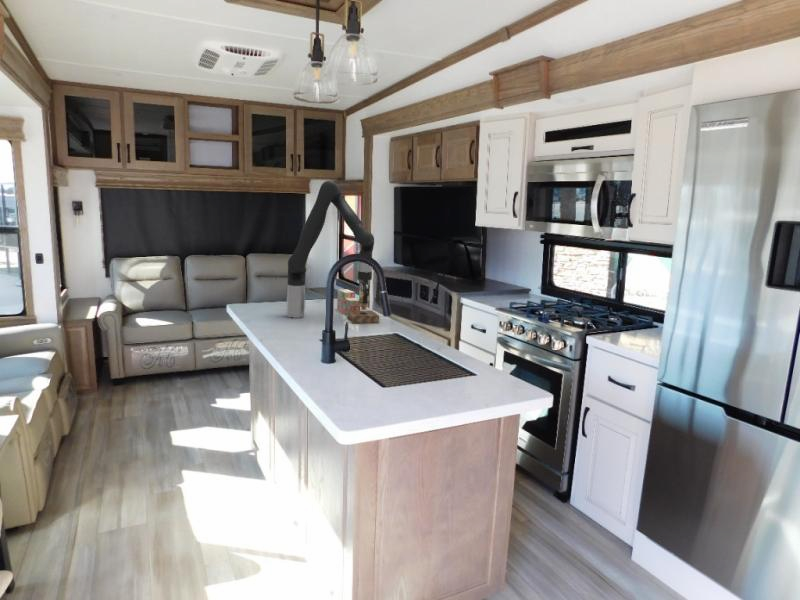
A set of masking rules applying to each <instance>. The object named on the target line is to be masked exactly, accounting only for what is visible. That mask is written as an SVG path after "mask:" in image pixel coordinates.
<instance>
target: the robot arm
mask: <svg viewBox="0 0 800 600" xmlns="http://www.w3.org/2000/svg"><path fill="white" fill-rule="evenodd" d="M331 203H332V204H333V205H334V207H335V208H336V210H337V211H338V212H339V214H340V216H341V217H342V219H343V221H344V222H345V224H346V225H347V227H348V228H349V229H350V231H351V232H352V235H353V236H354V237H355V240H356V242H357V243H358V244H359V245H361V246H360V251H359V253H358V255H359V254H361V255H365V256H368V257H370V258H372V259H373V252H374V248H375V247H374V245H375V236H374V234H373V233H372V232H371V231H370V232H368V231H367V230H366V229H365V227H364V224H363V222H362V220H361V218H359V216H358V215H357V214H356V212H355V210H353V209H352V208H351V206H350V205H349V203H348V202H347V200H346V198H345V197H344V194H343V193H342V191H341V189H340V186H339V185H338V184H337V183H336V182H334V181H332V180H325V181H324V182H323V183H322V184H321V185H320V188H319V190H318V194H317V196H316V200H315V202H314V205H313V206H312V207H311V208H312V209H311V210H310V213H309V214H308V216H307V218H306V221H305V223H304V225H303V228H302V230H301V233H300V236H299V238H298V243H297V246H296V248H295V249H294V251H293V252H292V254H291V256H290V257H289V258H288V261H287V294H286V317H287V318H291V317H293V319H299V318H300V317H301V318H304V317H305V312H306V311H305V307H306V305H305V304H306V303H305V302H306V265H307V261H308V258H309V255H310V254H311V253H310V252H311V250H312V249H313V248H314V246H315V244H316V242H317V240H318V238H319V237H320V235H321V232H323V231H322V230H323V229H324V225H325V222H326V219H327V218H326V217H327V213H328V209H329V207H330V205H331ZM372 277H373V266H372V267H371V266H369V265H368V264H365V263H362V262H359V261H358V262H357V279H358V280H359V282H358V283H359V284H358V287H359V290H362V292H363V303H367V297H368V296H369V297H370V287H371V286H370V283H369V281H372ZM359 290H358V291H359ZM366 292H367V293H366Z"/></svg>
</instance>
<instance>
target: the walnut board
mask: <svg viewBox="0 0 800 600" xmlns="http://www.w3.org/2000/svg"><path fill="white" fill-rule="evenodd" d="M346 316H347V317H346V318H347V319H348V320H349V321H350V322H351V323H352V325H353V324H354V325H356V324H359V325H360V324H364V325H365V324H380V315H379V314H378V313H376V312H375V311H374V310H360V311H348V315H346Z"/></svg>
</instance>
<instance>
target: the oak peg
mask: <svg viewBox="0 0 800 600" xmlns="http://www.w3.org/2000/svg"><path fill="white" fill-rule="evenodd" d="M358 291H359V293H358V299H359V303H361V306H360V310H361V311H367V307H368V306H367V305H368V304H369V303H370V295H369V296H368V297H367V303H363V292H362V290H358ZM366 293H367V292H366Z"/></svg>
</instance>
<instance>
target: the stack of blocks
mask: <svg viewBox="0 0 800 600" xmlns="http://www.w3.org/2000/svg"><path fill="white" fill-rule="evenodd" d="M336 308H337V309H336V310H338V311H339V312H340V313H342V314H343V315H345V314H346V315H345V316H347V315H348V311H361V303H359V298H356V292H355V291H353V290H350V289H337V306H336Z"/></svg>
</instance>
